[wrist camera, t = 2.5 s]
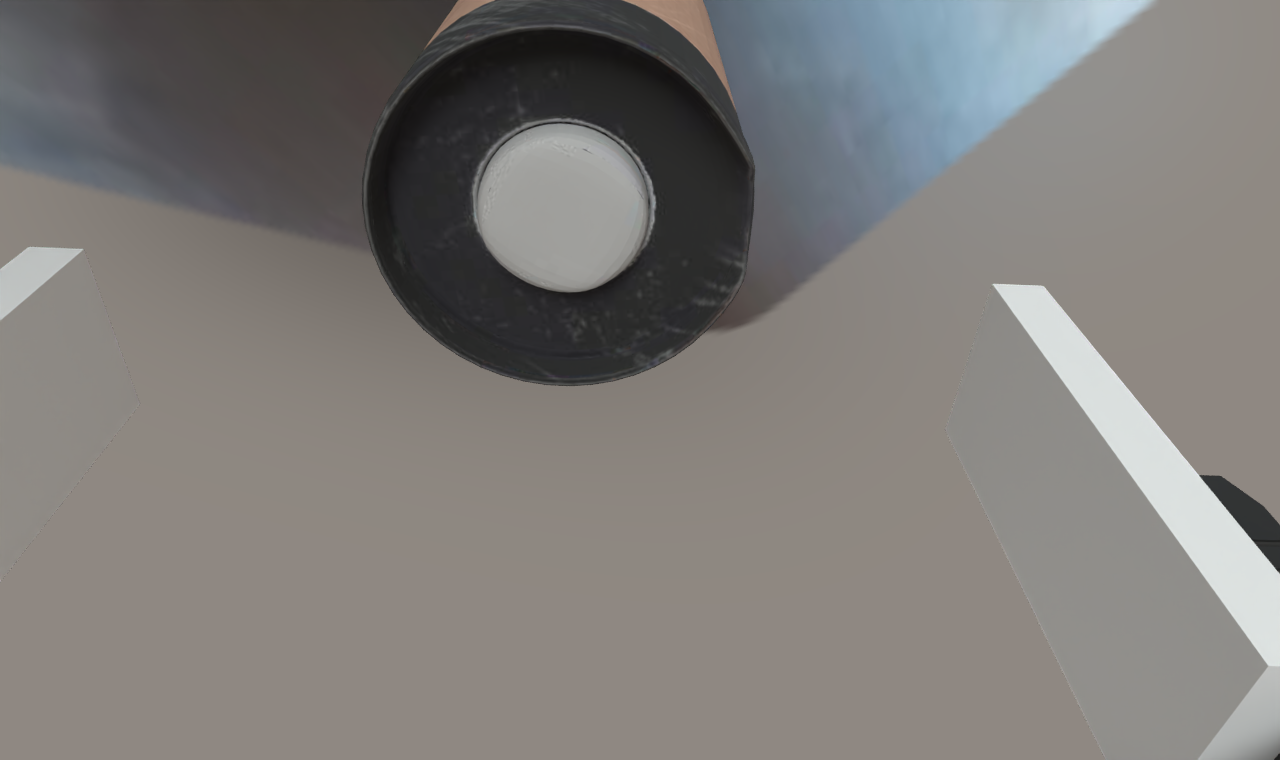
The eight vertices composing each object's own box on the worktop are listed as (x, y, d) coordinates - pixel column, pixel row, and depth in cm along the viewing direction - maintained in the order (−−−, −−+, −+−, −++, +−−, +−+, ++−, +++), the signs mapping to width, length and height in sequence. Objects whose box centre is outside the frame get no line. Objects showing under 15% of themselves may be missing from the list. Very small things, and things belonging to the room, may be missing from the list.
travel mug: (451, 0, 32) (271, 229, 16) (590, -169, 29) (542, -100, 13) (598, 140, 35) (572, 450, 19) (737, 0, 32) (848, 228, 16)
